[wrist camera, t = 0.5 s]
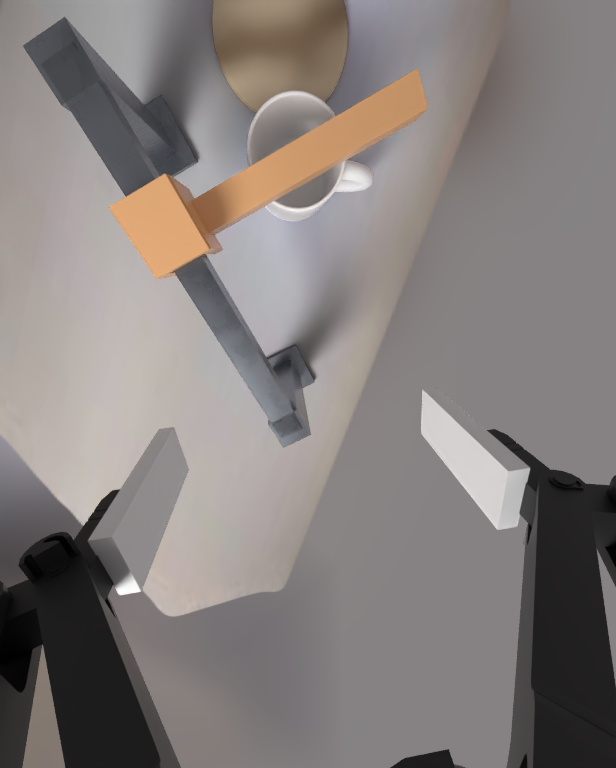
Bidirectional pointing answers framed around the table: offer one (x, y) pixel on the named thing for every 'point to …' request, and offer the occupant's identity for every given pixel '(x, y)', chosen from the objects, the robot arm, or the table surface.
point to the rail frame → (143, 165)
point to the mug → (284, 125)
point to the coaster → (280, 46)
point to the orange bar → (257, 180)
